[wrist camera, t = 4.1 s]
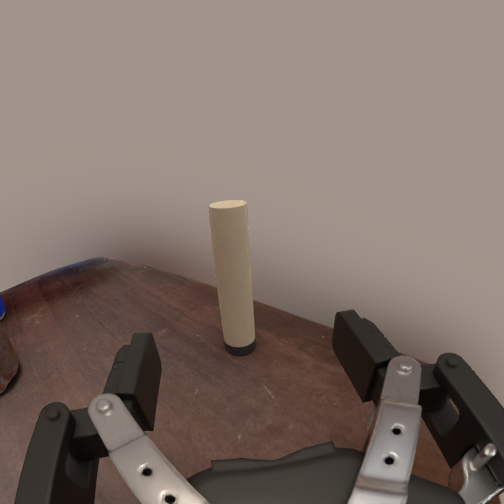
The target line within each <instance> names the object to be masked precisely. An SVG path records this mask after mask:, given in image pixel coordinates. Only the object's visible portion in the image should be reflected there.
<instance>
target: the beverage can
mask: <svg viewBox="0 0 504 504" xmlns="http://www.w3.org/2000/svg"><path fill="white" fill-rule="evenodd" d="M5 310H6V309H5V306H4V304H3V301H2V298H1V296H0V320H2V319H3V317H4V316H5Z"/></svg>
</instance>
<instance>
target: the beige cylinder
mask: <svg viewBox="0 0 504 504" xmlns="http://www.w3.org/2000/svg"><path fill="white" fill-rule="evenodd" d="M209 217H210V227H211V237H212V246H213V255H214V264H215V273H216V281H217V289H218V297H219V305H220V313H221V320H222V328H223V335H224V342H225V348H226V350H227V351H228V352H229V353H230V354H232V355H237V356H241V355H246V354H249V353H251V352H252V351H253V350H254V349H255V346H256V342H255V326H254V310H253V295H252V278H251V262H250V246H249V230H248V213H247V202H245V201H241V200H227V201H220V202H215V203H212V204H210V205H209Z"/></svg>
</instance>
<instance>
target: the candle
mask: <svg viewBox="0 0 504 504" xmlns="http://www.w3.org/2000/svg"><path fill="white" fill-rule="evenodd" d="M18 366H19V363H18V357H17V354H16V352H15V350H14V348H13V346H12V344H11V343H10V341H9V339H8V337H7V335H6V333H5V331H4V329H3V327H2V324H1V322H0V393H2V392H4V390H5V389H6V387H7V384H8V383H9V382H10V380H11V379H12V378H13V377H14V376H15V375H16V373H17V369H18Z"/></svg>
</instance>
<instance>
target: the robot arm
mask: <svg viewBox="0 0 504 504" xmlns="http://www.w3.org/2000/svg"><path fill="white" fill-rule="evenodd" d="M332 345H333V350H334V352H335V354H336V356H337V358H338V359H339V361H340V363H341V365H342V366H343V368H344V370H345V372H346V373H347V375H348V377H349V379H350V380H351V382H352V384H353V386H354V388H355V389H356V391H357V393H358V395H359V396H360V398H361V400H362V402H363V403H364V402H367V401H370V400H373V402H374V406H373V409H372V412H371V415H370V419H369V422H368V425H367V428H366V431H365V434H364V437H363V440H362V443H361V445H360V447H359V450H354V449H348V448H335V445H334V443H333V441H331V442H327V443H323V444H319V445H315V446H311V447H306V448H303V449H301V450H299V451H296V452H294V453H292V454H289V455H287V456H285V457H282V458H280V459H277V460H259V459H246V458H237V459H226V460H211V468H209V469H206V470H203V471H200V472H198V473H196V474H194V475H193V476H191V477H189V478H188V479H187V480H186V479H185V478H184V477H183V476H182V475H181V474H180V473H179V472H178V471H177V470H176V469H175V468H174V466H173V465H172V464H171V463H170V462H169V461H168V460H167V458H166V457H165V456H164V455H163V454H162V453H161V451H160V450H159V449H158V448H157V446H156V445H155V444H154V443H153V442H152V440H151V439H150V438H149V437H148V435H147V434H145V433H144V431H153V429H154V421H155V413H156V405H157V398H158V391H159V385H160V378H161V371H162V370H161V361H160V357H159V354H158V351H157V347H156V344H155V341H154V337H153V335H152V333H151V332H150V333H134V335H133V337H132V340H131V343H130V345H124V346H123V347H122V348H121V349H120V350H119V351H118V352H117V354H116V357H115V360H114V363H113V365H112V370H111V371H110V374H109V377H108V380H107V383H106V386H105V389H104V392H103V394H101V395H99V396H97V397H95V398H94V399H93V400H92V401H91V402H90V403H89V406H88V407H87V408H83V409H77V410H71V411H70V410H69V409H68V408H67V406H66V405H65V404H63V403H60V402H53V403H50V404H48V405H46V406H45V407H44V408H43V409H42V411H41V413H40V415H39V418H38V420H37V423H36V426H35V429H34V432H33V435H32V438H31V441H30V444H29V447H28V451H27V454H26V457H25V461H24V464H23V468H22V472H21V476H20V480H19V484H18V488H17V493H16V498H15V503H14V504H94V499H95V489H96V479H97V471H98V464H99V458H102V457H108V456H110V458H111V460H112V461H113V463H114V465H115V466H116V468H117V469H118V471H119V473H120V474H121V476H122V477H123V479H124V480H125V482H126V483H127V484H128V486H129V487H130V489H131V490H132V492H133V493H134V494H135V496H136V497H137V498H138V500H139V501H140V502H141V504H487V503H489V502H490V501H492V500H493V499H494V498H496V497H497V496H499V495H500V494H501V493H503V492H504V408H503V407H502V405H501V404H500V403H499V402H498V400H497V399H496V398H495V396H494V395H493V394H492V393H491V391H490V390H489V389H488V388H487V387H486V385H485V384H484V383H483V382H482V381H481V379H480V378H479V377H478V376H477V375H476V373H475V372H474V371H473V370H472V369H471V368H470V367H469V365H468V364H467V363H466V362H465V361H464V360H463V359H462V357H460V356H459V355H457V354H454V353H444V354H442V355H440V356H439V358H438V360H437V362H436V364H426V365H420V364H419V363H418V362H417V361H416V360H415V359H413V358H411V357H408V356H400V354H399V353H398V352H397V351H396V350H395V348H394V347H393V346H392V345H391V343H390V342H389V341H388V340H387V339H386V338H385V337H384V335H383V334H382V333H381V332H380V331H379V329H378V328H377V327H376V326H375V324H374V323H372V322H370V321H369V320H367V319H365V318H363V319H361V318H360V317H359V316H358V314H357V313H356V312H355V311H354V310H347V311H341V312H337V313H336V316H335V322H334V330H333V338H332ZM450 398H451V399H452V401H453V402H454V403H455V405H456V406H457V408H458V410H459V414H460V415H458V414H457V412H456V411H455V409H454V408H453V406H452V405H451V403H450V402H449V399H450ZM421 417H422V419H423V420H424V422H425V424H426V426H427V427H428V429H429V431H430V432H431V434H432V436H433V438H434V439H435V441H436V443H437V445H438V446H439V448H440V450H441V452H442V454H443V455H444V457H445V459H446V461H447V463H448V465H449V467H450V468H451V470H450V473H449V483H448V487H449V488H447V487H444V486H442V485H439V484H436V483H433V482H431V481H428V480H425V479H423V478H420V477H418V476H415V475H413V474H411V470H412V466H413V461H414V456H415V451H416V446H417V440H418V434H419V428H420V421H421Z"/></svg>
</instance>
